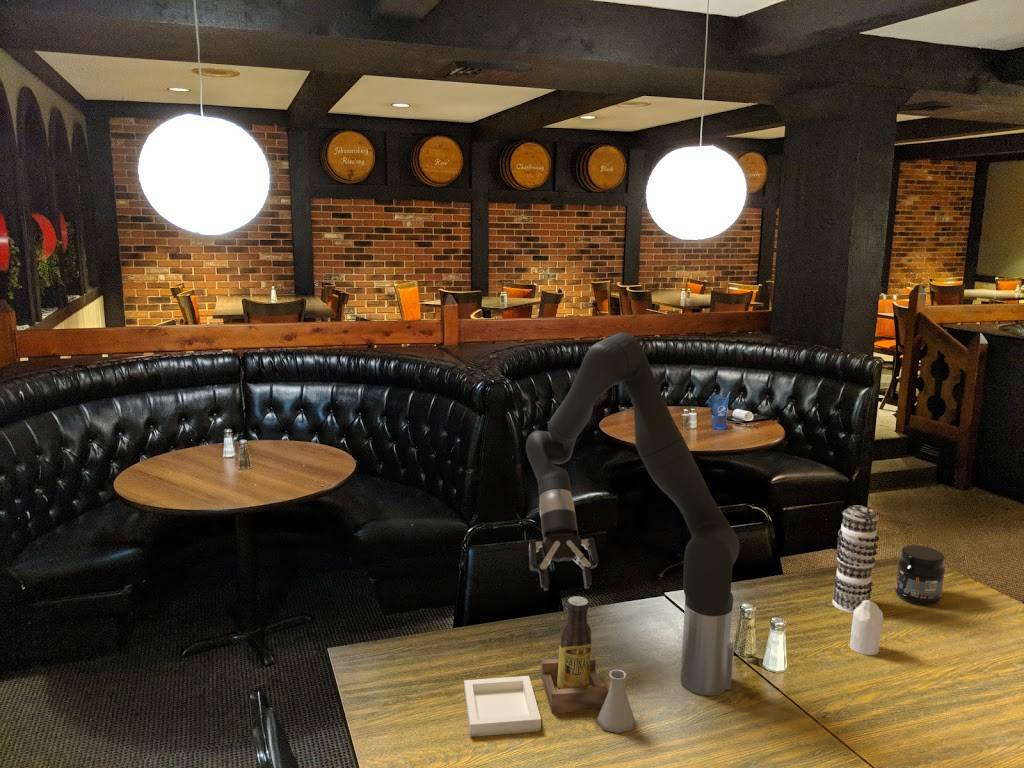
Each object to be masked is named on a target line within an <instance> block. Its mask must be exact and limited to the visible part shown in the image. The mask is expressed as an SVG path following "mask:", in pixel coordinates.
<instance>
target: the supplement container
mask: <svg viewBox="0 0 1024 768" xmlns="http://www.w3.org/2000/svg"><path fill="white" fill-rule="evenodd" d="M900 552H901V553H900V557H899V559H898V561H897V570H896V578H895V579H896V580H895V586H894V591H895V593H896V595H897V596H898V597H899V598H900V599H902V600H904V601H905V602H908V603H910V604H915V605H918V606H927V607H928V606H935V605H936V604H937V605H938V604H939V603H940V601H942V595H943V587H944V586H943V585H944V580H945V574H946V568H945V566H944V565H945V557H946V556H945V554H943V552H941V551H939V550H938V549H935V548H933V547H929V546H924V545H917V544H909V545H905V546H903V547H902V548H901V551H900Z"/></svg>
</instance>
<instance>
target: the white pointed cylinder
mask: <svg viewBox="0 0 1024 768" xmlns="http://www.w3.org/2000/svg"><path fill="white" fill-rule="evenodd" d="M852 615H853V616H852V619H851V620H852V621H851V628H850V629H851V630H850V632H851V633H850V641H849V647H850V649H851V650H852V651H854V652H856V653H858V654H861V655H863V656H874V655H875V656H876V655H877V654H879V652H880V642H881V635H882V630H883V623H884V614H883V611H882V610H881V609H880V608H879V606H878V604H876V603H875V602H873V601H871V599H870V600H864V601H862V603H861V605H860V606H858V607H857V608H856V609H855V610H854V614H853V613H852Z"/></svg>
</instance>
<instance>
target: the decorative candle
mask: <svg viewBox="0 0 1024 768" xmlns="http://www.w3.org/2000/svg"><path fill="white" fill-rule="evenodd" d="M841 514H842V515H843V516H842V523H841V527H840V529H838V532H837V536H838V537H837V538H836V541H837V547H836V548H837V551H836V552H835V553H836V560H837V561H838V563H837V567H836V575H835V574H834V581H833V583H834V584H833V586H834V587H833V589H832V590H833V591H832V605H833V606H834V608H836V609H838V610H840V611H842V612H845V613H848V614H852V615H853V614H854V610H855V609H856V608H857V607H858V606H860V605H861V603H862V601H864V600H870V601H871V598H872V593H871V592H872V591H873V589H872V586H873V583H874V582H873V579H872V578H873V574H872V569H873V567H874V566H875V562H876V559H875V557H874V556H876V555H877V554H878V551H877V549H878V547H879V545H878V544H877V543H876V542H878V541H880V537H879V536H878V535H879V531H878V529H877V526H878V520H879V519H880V517H879V515H877V513H876V512H875V510H873V509H872V508H871V507H868V506H865V505H858V504H857V505H849V506H848V507H847V508H846V509H844V510H842V512H841Z"/></svg>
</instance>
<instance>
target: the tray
mask: <svg viewBox="0 0 1024 768" xmlns="http://www.w3.org/2000/svg"><path fill="white" fill-rule="evenodd" d="M463 681H464V682H463V685H464V686H463V691H464V692H463V693H464V699H465V706H466V716H467V723H468V731H469V737H470V738H473V737H486V736H497V735H511V734H520V733H522V734H523V733H535V732H541V729H542V728H541V727H542V717H541V714H540V711H539V708H538V704H537V700H536V697H535V693H534V689H533V685H532V682H531V681H532V680H531V678H530V675H523V676H522V675H521V676H520V675H519V676H507V677H505V676H504V677H496V678H495V677H493V678H492V677H491V678H480V679H465V680H463Z"/></svg>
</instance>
